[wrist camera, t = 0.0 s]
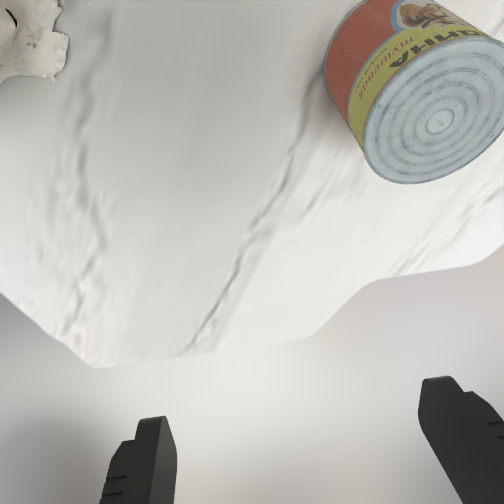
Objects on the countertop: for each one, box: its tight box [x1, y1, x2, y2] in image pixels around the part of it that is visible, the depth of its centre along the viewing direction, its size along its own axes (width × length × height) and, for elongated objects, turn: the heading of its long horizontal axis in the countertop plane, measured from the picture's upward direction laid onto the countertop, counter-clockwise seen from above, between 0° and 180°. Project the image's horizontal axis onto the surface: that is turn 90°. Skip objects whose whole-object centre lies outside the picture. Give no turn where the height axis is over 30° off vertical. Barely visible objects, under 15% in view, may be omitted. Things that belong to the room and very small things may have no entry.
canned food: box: [324, 0, 504, 184], centre depth 31 cm, size 11×11×12 cm
